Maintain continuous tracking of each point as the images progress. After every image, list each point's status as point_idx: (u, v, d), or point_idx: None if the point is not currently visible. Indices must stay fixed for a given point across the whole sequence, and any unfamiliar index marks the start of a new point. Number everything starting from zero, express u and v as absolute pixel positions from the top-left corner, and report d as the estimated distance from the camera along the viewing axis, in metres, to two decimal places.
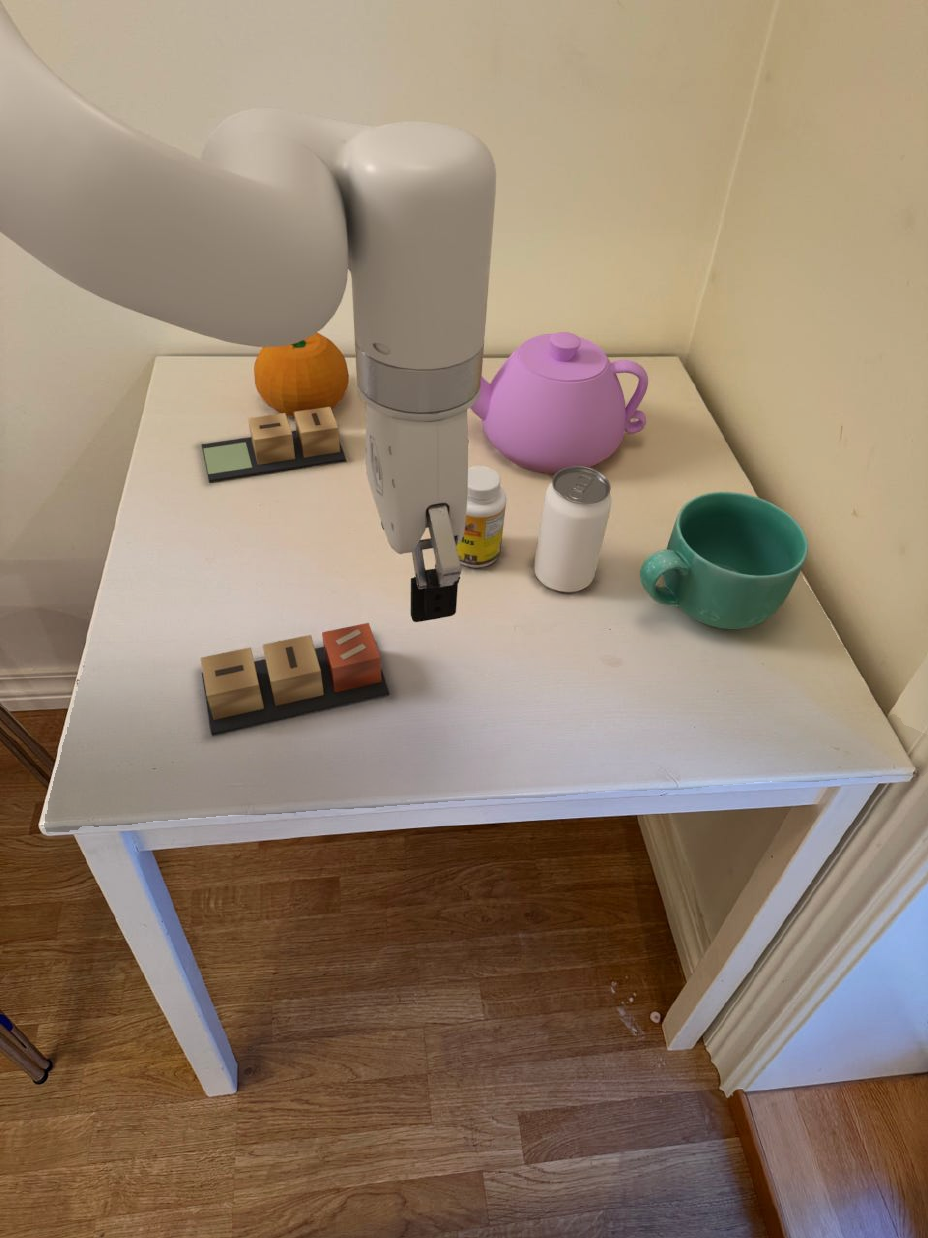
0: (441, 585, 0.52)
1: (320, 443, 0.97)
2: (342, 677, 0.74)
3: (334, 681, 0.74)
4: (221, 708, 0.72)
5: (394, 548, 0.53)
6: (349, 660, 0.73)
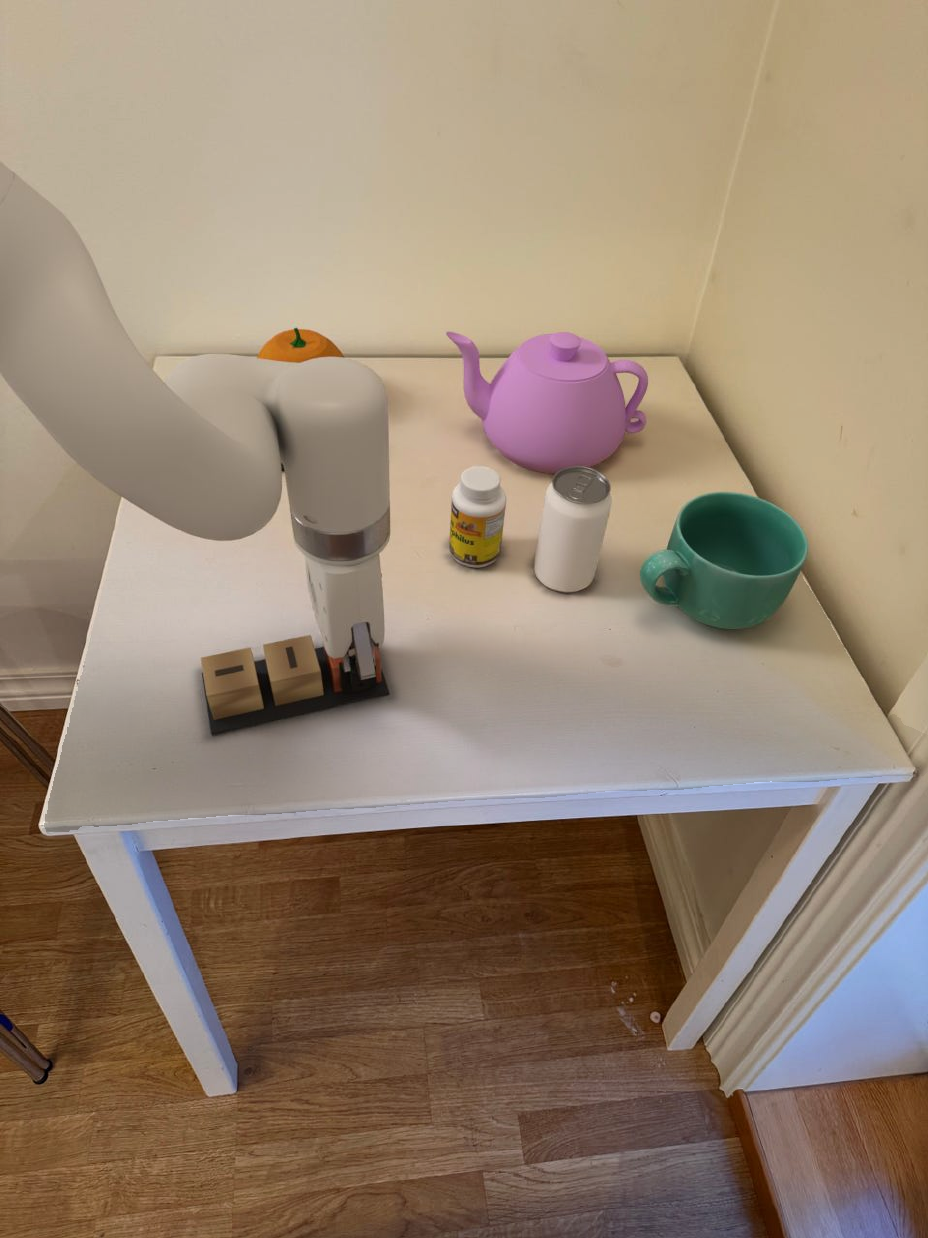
0: None
1: None
2: None
3: (334, 681, 0.74)
4: (221, 708, 0.72)
5: (328, 654, 0.68)
6: None
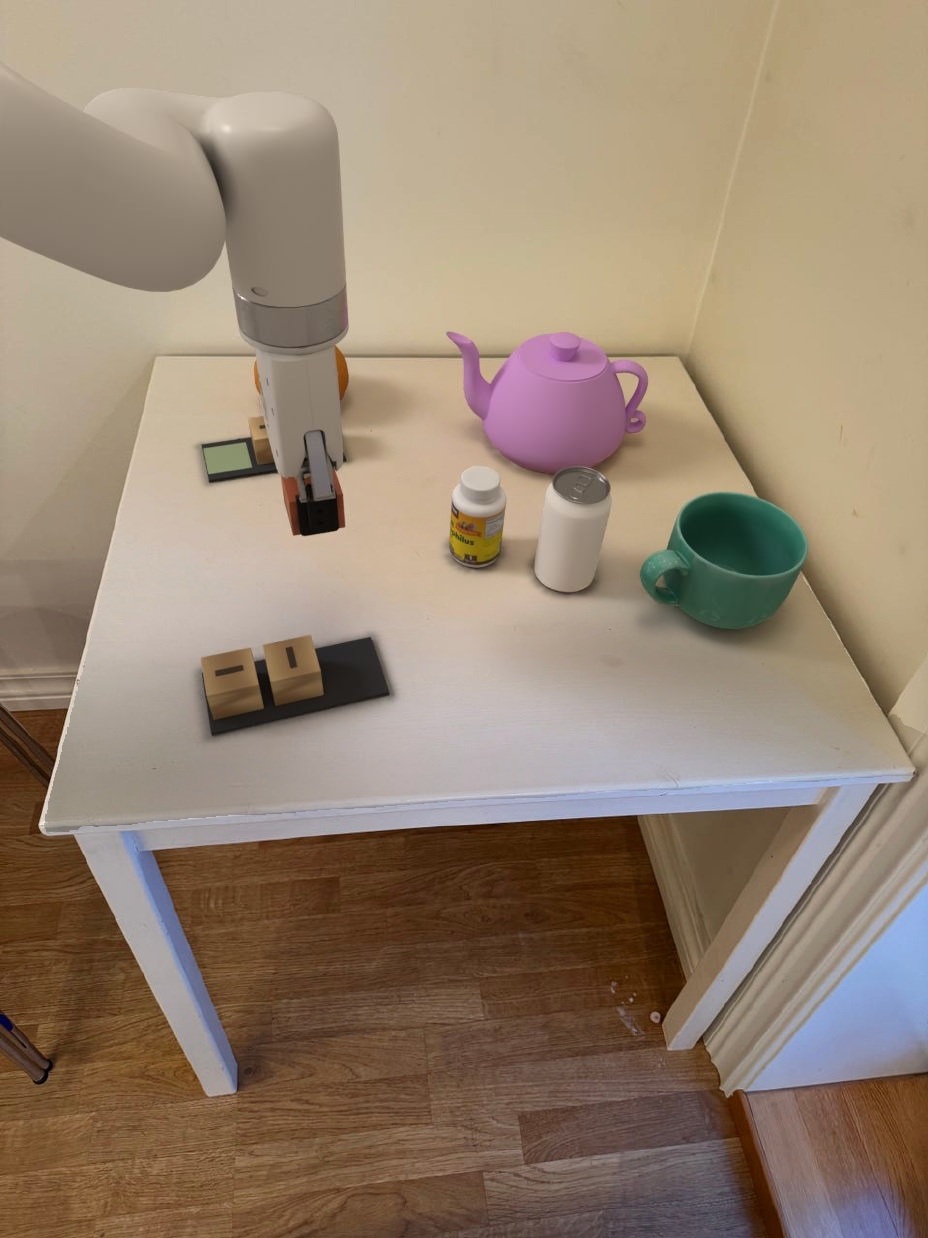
0: None
1: None
2: None
3: (292, 520, 0.67)
4: (221, 708, 0.72)
5: (280, 473, 0.61)
6: None
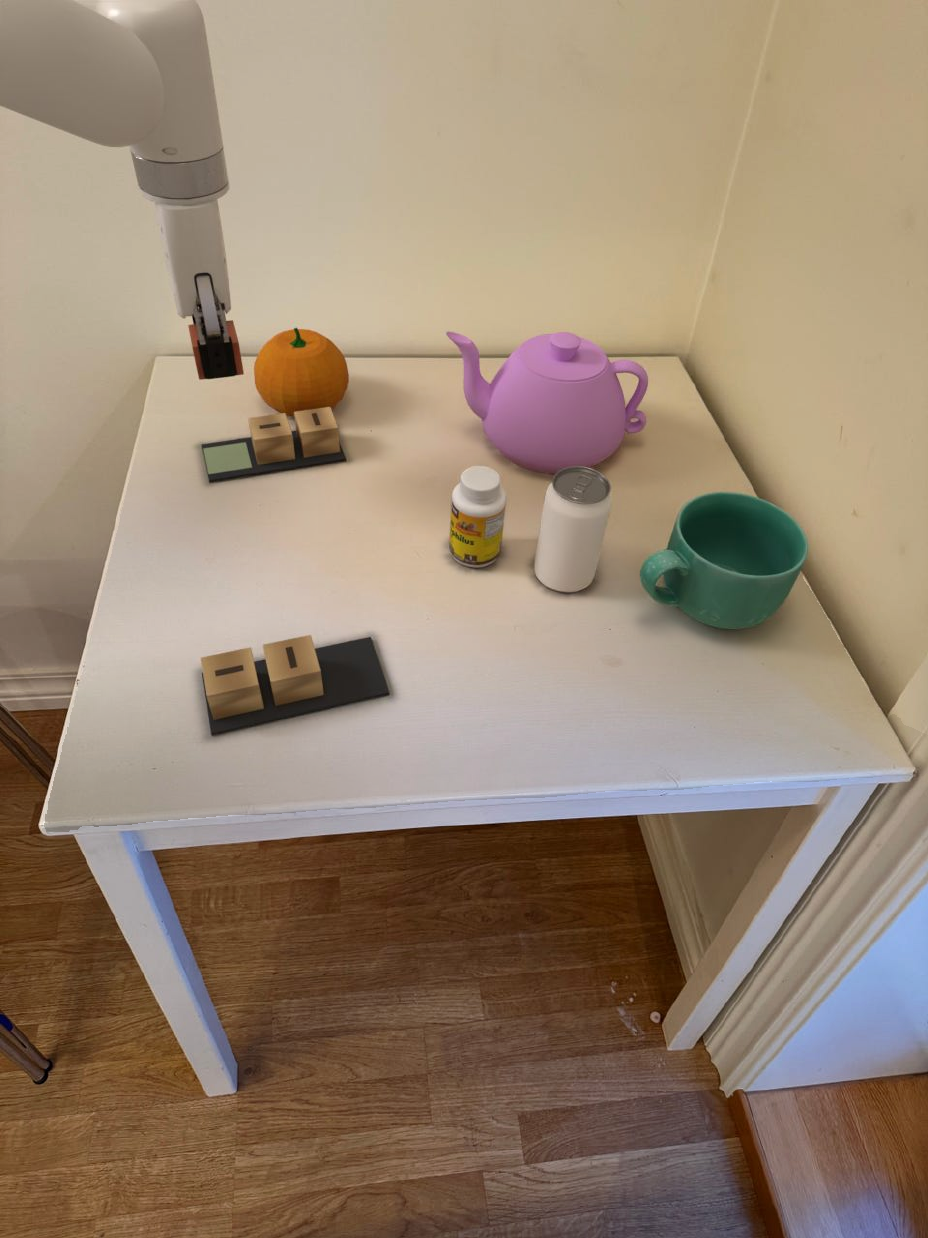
0: None
1: (320, 443, 0.97)
2: None
3: (197, 365, 0.81)
4: (221, 708, 0.72)
5: (178, 313, 0.75)
6: None
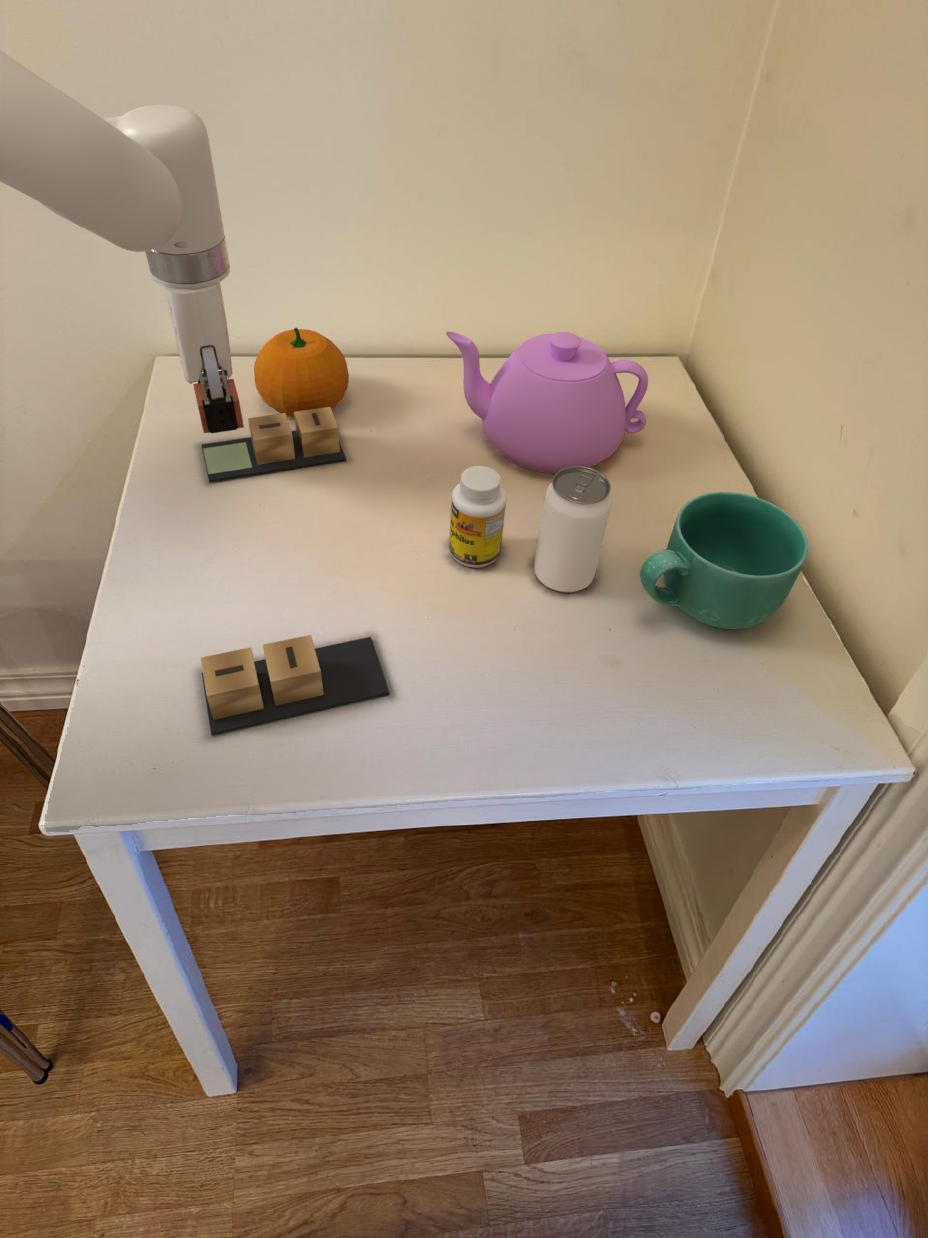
0: None
1: (320, 443, 0.97)
2: None
3: (201, 420, 0.90)
4: (221, 708, 0.72)
5: (186, 379, 0.84)
6: None
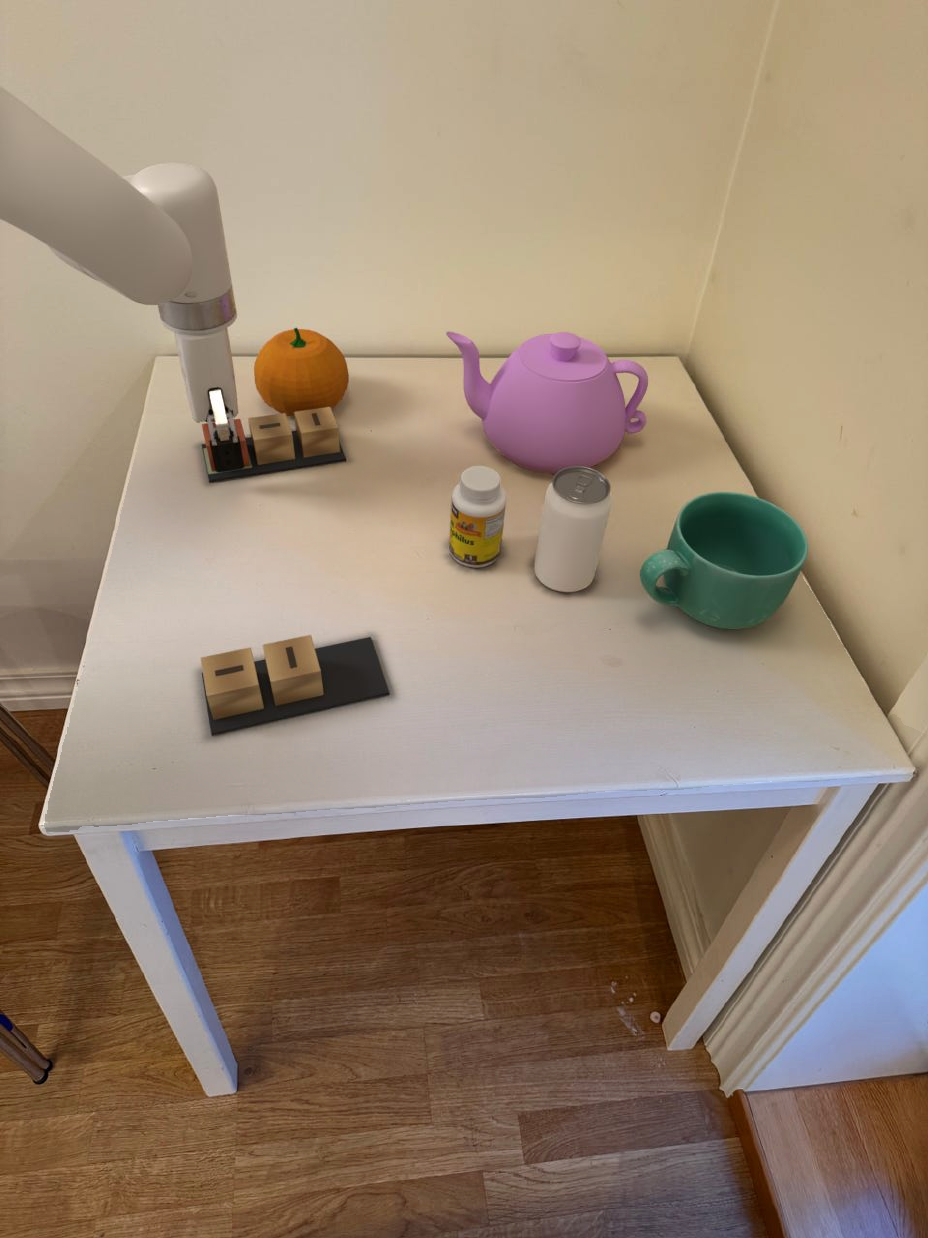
0: (221, 439, 0.86)
1: (320, 443, 0.97)
2: None
3: (209, 459, 0.94)
4: (221, 708, 0.72)
5: (193, 418, 0.87)
6: None
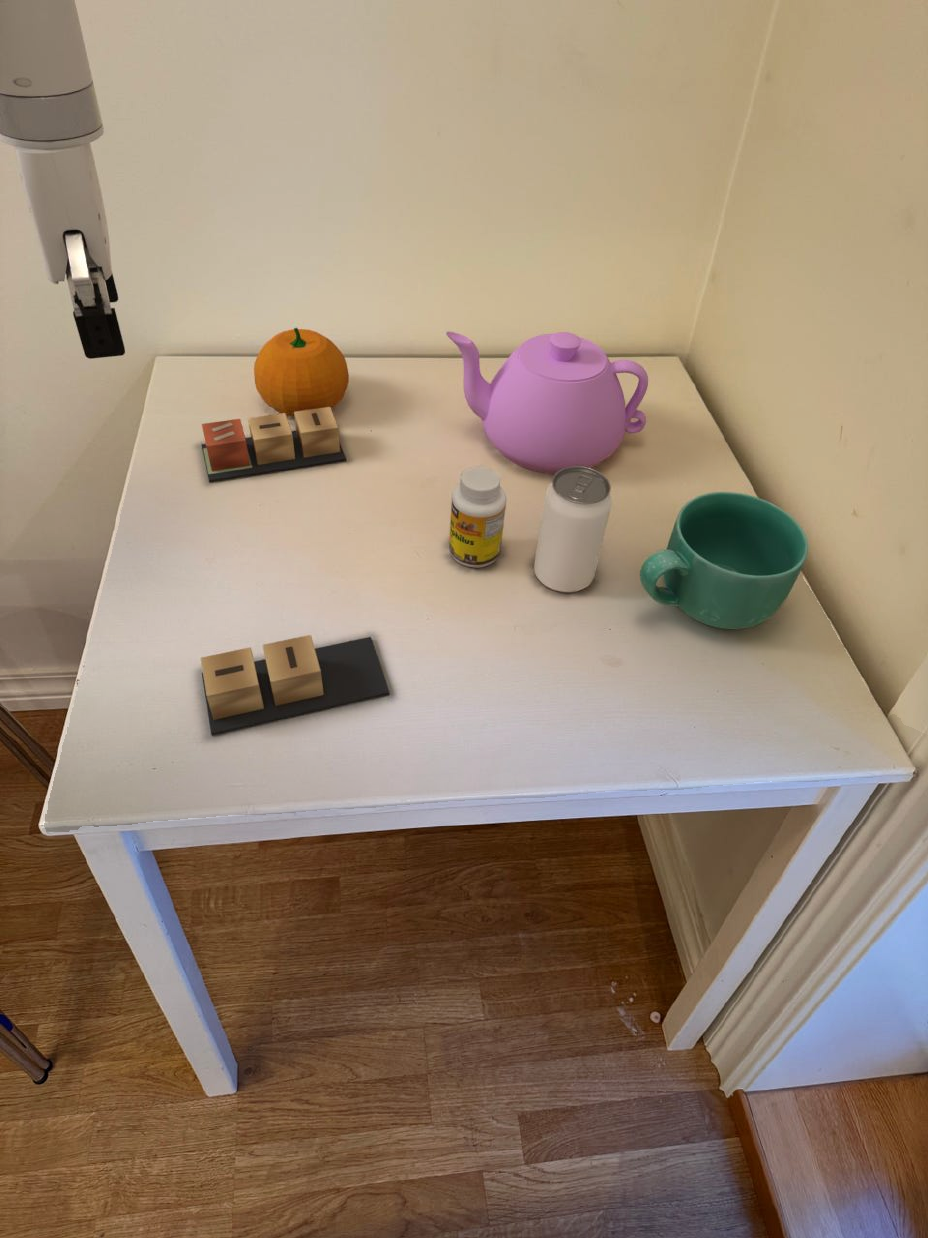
0: (83, 303, 0.64)
1: (320, 443, 0.97)
2: (216, 456, 0.94)
3: (209, 459, 0.94)
4: (221, 708, 0.72)
5: (48, 277, 0.65)
6: (220, 441, 0.93)
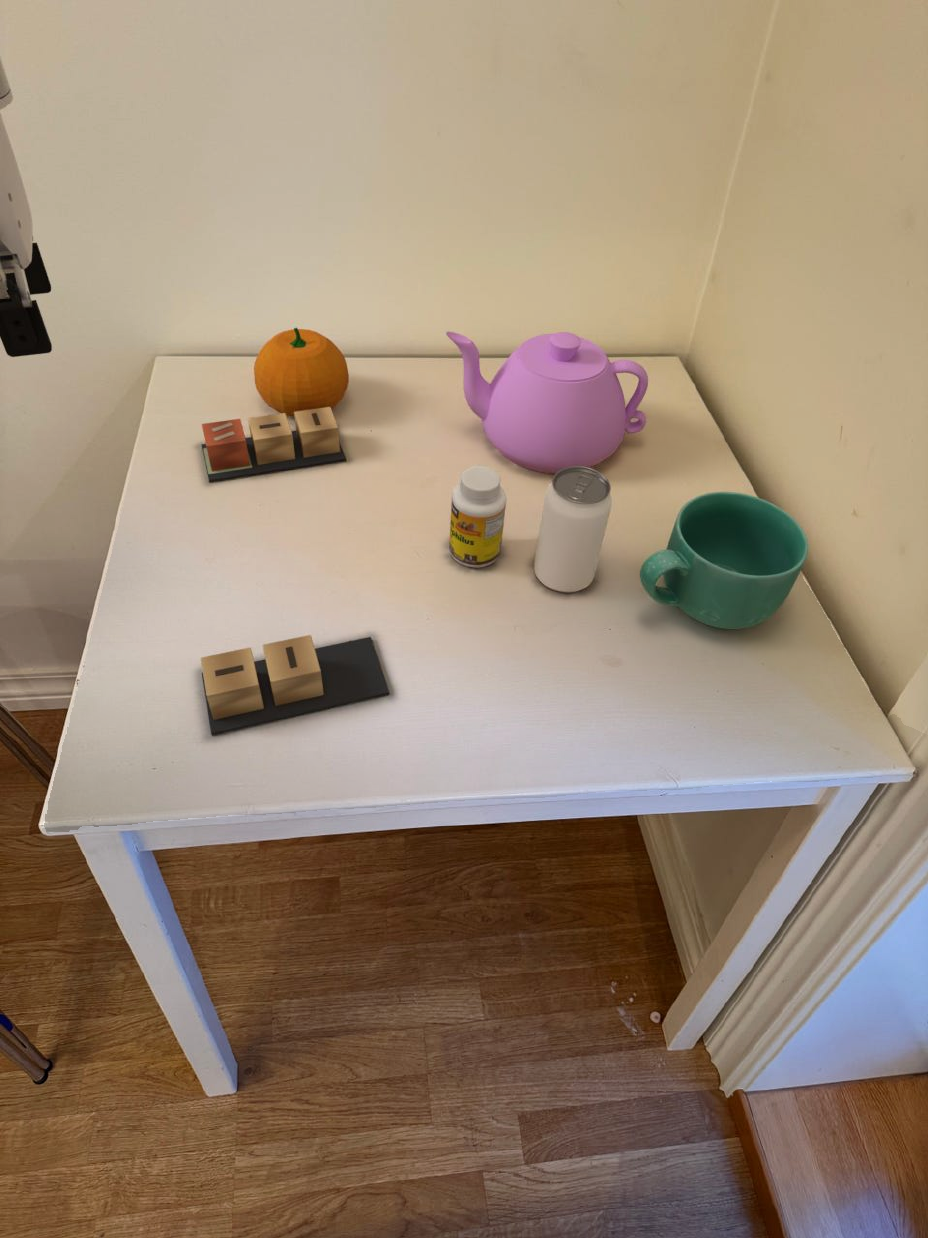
0: None
1: (320, 443, 0.97)
2: (216, 456, 0.94)
3: (209, 459, 0.94)
4: (221, 708, 0.72)
5: None
6: (220, 441, 0.93)
